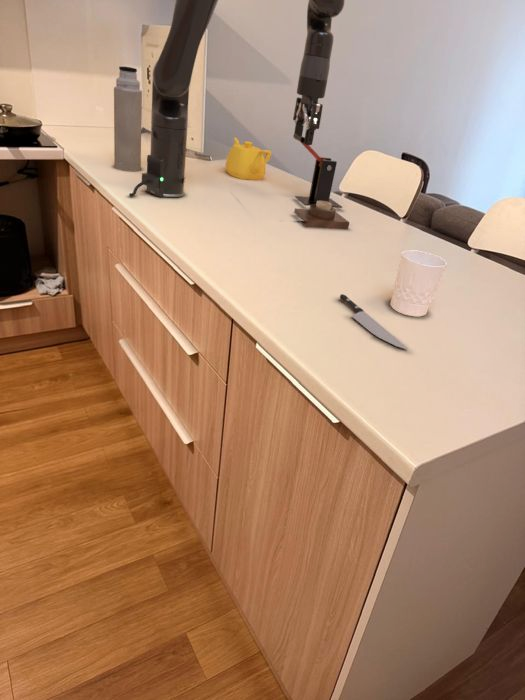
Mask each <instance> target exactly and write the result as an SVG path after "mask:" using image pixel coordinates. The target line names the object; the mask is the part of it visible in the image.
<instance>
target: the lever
mask: <svg viewBox="0 0 525 700" xmlns="http://www.w3.org/2000/svg"><path fill="white" fill-rule="evenodd" d="M293 139H294V140H296V141H298V142H299V143H300V144H301V145H302V146H303V147H304V148H305V149H306V150H307V151H308V152H309V153H310V154H311V155H312V156H313V157H314V159H315V160H316V159H317V160H318V161H319V162H320V163H319V166H321V161H322V159H321V158H320V157H321V156H320V155H319V154H318V152H317V151H315V150H314V149H313V148H312V146H311V145H305V144H304V139H305V136H303V135H302V136H300V135H298V134H294V133H293ZM323 160H326V159H323Z"/></svg>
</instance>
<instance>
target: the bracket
mask: <svg viewBox="0 0 525 700" xmlns="http://www.w3.org/2000/svg"><path fill="white" fill-rule="evenodd" d="M319 157H320V158H321V159H322V161H321V166H319V163H320V162H319V161H318V160H317V159H316V158H315V162H314V163H315V164H314V169H313V175H312V179H311V185H310V190H309V195H308V196H301V195H295V196H294V198H295V199H297V200H298V201H299V202H300V203H302V204H303V205H304V206H308V207H310V206H311V204H316V203H317V201H327V202H330V203H331V204H332V205H331V207H333V208H339V209H340V208H341V209H343V206H342V205H340V204H339V203H338V202H337V201H335V200H334V199H333V198H330V197H331V193H332V189H333V183H334V177H335V173H336V170H337V168H336V167H337V163H338V162H337V161H336V160H332V158H331V157H322V156H319ZM323 159H326V160H323Z"/></svg>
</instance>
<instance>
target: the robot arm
mask: <svg viewBox="0 0 525 700" xmlns="http://www.w3.org/2000/svg"><path fill="white" fill-rule="evenodd" d="M218 2H219V0H175V2H174V7H173V13H172V20H171V25H170V29H169V32H168V35H167V37H166V40H165V43H164V45H163V48H162V50H161V52H160V55H159V57H158V59H157V60H156V61H155V64H154V66H153V69H152V82H151V83H152V87H151V89H152V90H151V117H150V119H151V125H150V133H151V134H150V154H147V155H146V172H143V173H141V182H139V183H138V184H137V185H136V186H134V189H133V192H131V193H128V194H129V195H128V196H129V197H131V198H132V197H135V196H136V195H137V192H138V189H140V188H141V187H142V186H145V187H146V192H148V193H149V194H152V195H154V196H157V197H159V198H179V197H183V196H184V194H185V182H186V177H185V174H186V173H185V172H186V159H187V158H186V156H187V139H188V126H189V125H188V124H189V99H190V86H191V83H192V77H193V72H194V67H195V63H196V60H197V55H198V51H199V47H200V45H201V42H202V40H203V37H204V35H205V33H206V31H207V29H208V26H209V24H210V22H211V20H212V17H213V15H214V13H215V10H216V7H217V6H218ZM344 7H345V0H308V2H307V9H306V38H305V43H304V51H303V55H302V59H301V63H300V69H299V75H298V80H297V81H298V82H297V88H296V94H297V95H299V96H301V97H296V100H295V106H294V111H293V117H292V119H293V121H294V124H295V126H294V132H293V135H294V134H298V135H300V136H302V137H303V132H304V125H305V127H306V128H305V134H304V138H305V139H304V144H305V145H309V146H313V141H314V135H315V131H316V130H319V129H320V126H321V120H322V113H323V107H324V106H323V104H321V103H319V99H324V98H325V96H326V90H327V85H328V79H329V74H330V67H331V58H332V52H333V46H334V34H333V33H332V21H333V18H336V17H338V16H339V14H341V13H342V11H343V9H344Z"/></svg>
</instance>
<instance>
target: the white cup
mask: <svg viewBox="0 0 525 700" xmlns="http://www.w3.org/2000/svg"><path fill="white" fill-rule="evenodd" d="M447 265H448V263H447V261H446V260H445V258H442V257H441V256H439V255H436V254H434V253H430V252H428V251H423V250H416V249H407V250H403V251H402V252H401V255H400V259H399V264H398V267H397V272H396V276H395V280H394V284H393V289H392V296H391V300H390V303H389V304H390V307H391V308H392V309H393V310H394V311H396V312H398V314H399V313H400V314H402V315H405V316H409V317H418V318H419V317H424V316H425V315H427V313H428V310H429V308H430V305H431V302H432V301H433V300H434V297H435V295H436V292H437V290H438V287H439V285H440V283H441V280H442V277H443V274H444V272H445V270H446V267H447Z"/></svg>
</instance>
